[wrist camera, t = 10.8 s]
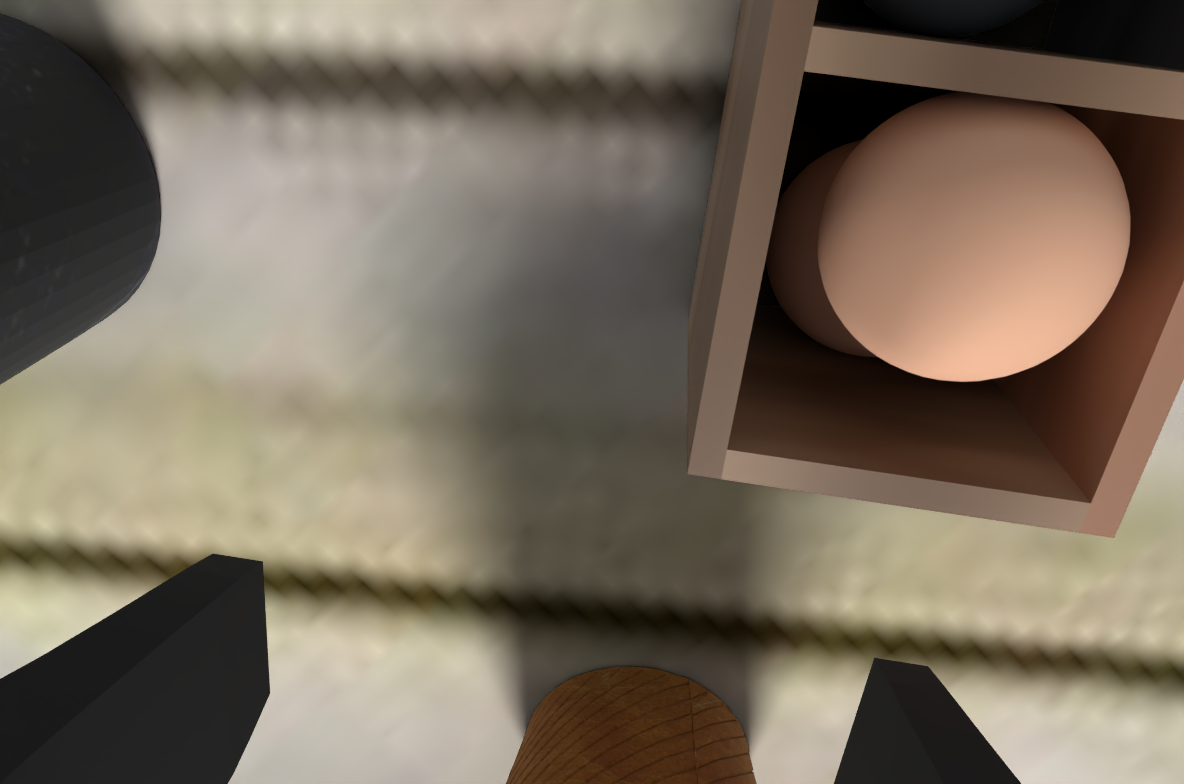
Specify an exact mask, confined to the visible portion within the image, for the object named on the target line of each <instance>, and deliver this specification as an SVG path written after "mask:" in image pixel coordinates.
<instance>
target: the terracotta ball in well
mask: <svg viewBox="0 0 1184 784" xmlns="http://www.w3.org/2000/svg"><path fill="white" fill-rule="evenodd" d="M862 141H863V140H859V141H856V142H852V143H849V144H846V145H843V146H841V147H838V148H836V149H834V150H832V151H830V152H828V153H826V154H824V155H823V156H821V157H819V158H818V159H816V160H815V161H814V162H812V163H811V164H809V165H808V166H807V167H806V168H805V169H804V170H803V171H802V172H800V173H799V174H798V176H797V177H796V178H795V179H794V180H793V181H792V183H791V184H790V185H789V187H788V188H787V189H786V191H785V192H784V194H783V195H782V197H781V198H780V200H779V202H778V204H777V207H776V211H775V216H774V221H773V226H772V231H771V236H770V241H769V246H768V251H767V256H766V262H767V269H768V275H769V279H770V282H771V286H772V289H773V291H774V293H775V296H776V298H777V300H778V302H779V304H780V306H781V307H782V308H783V310H784V311H785V313H786V314H787V315H788V317H789V318H790V319H791V321H792V322H793V323H794V324H795V325H796V326H797V327H798V328H799V329H801V330H802V331H803V332H804V333H806V334H807V335H808V336H809V337H811V338H812V339H814V340H815V341H817V342H819V343H820V344H822V345H824V346H827V347H829V348H831V349H834V350H837V351H840V352H843V353H846V354H851V355H856V356H864V357H877V356H876V355H875V354H873V353H872V352H871V351H869V350H868V349H867V348H865V347H864V346H863V345H862V344H861V343H860V342H859V341H858V340H857V339H856V338H855V337H854V336H853V335H852V334H851V333H850V332H849V330H848V329H847V328H846V327H845V326H844V324H843V323H842V321H841V320H840V318H839V317H838V316H837V314H836V313H835V311H834V309H833V307H832V305H831V303H830V301H829V299H828V297H827V294H826V291H825V289H824V286H823V282H822V278H821V273H820V269H819V264H818V252H817V244H818V227H819V222H820V218H821V214H822V209H823V205H824V201H825V199H826V196H827V194H828V192H829V189H830V187H831V185H832V183H833V180H834V178H835V176H836V174H837V173H838V171H839V170H840V168H841V167H842V165H843V164H844V162H845V161H846V159H847V158H848V156H849V155H850V154H851V152H852V151H853V150H854V149H855V148H856V147H857V146H858V145H859V144H860V143H861V142H862Z"/></svg>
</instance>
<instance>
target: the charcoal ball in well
mask: <svg viewBox="0 0 1184 784" xmlns="http://www.w3.org/2000/svg"><path fill="white" fill-rule="evenodd" d="M863 1H864V2H865V3H866V4H867V5H868V6H869V7H870V8H871V9H872V10H873V11H875V12H876V13H877V14H879V15H880V16H881V17H883V18H884V19H885V20H887V21H889V22H891V23H892V24H894V25H896V26H898V27H900V28H902V29H905V30H908V31H911V32H914V33H918V34H923V35H928V36H942V37H955V36H966V35H971V34H976V33H981V32H984V31H987V30H990V29H994V28H996V27H999V26H1001V25H1003V24H1006V23H1008V22H1010V21H1012V20H1014V19H1016V18H1017V17H1019V16H1021V15H1023V14H1024V13H1026V12H1028V11H1029V10H1031V9H1032V8H1033V7H1035V6H1036V5H1038V4H1039V3H1040V2H1042V1H1043V0H863Z"/></svg>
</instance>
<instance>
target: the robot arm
mask: <svg viewBox="0 0 1184 784" xmlns="http://www.w3.org/2000/svg"><path fill="white" fill-rule="evenodd" d="M269 694H270V684H269V666H268V648H267V630H266V612H265V594H264V576H263V562H262V561H256V560H250V559H243V558H237V557H231V556H224V555H218V554H212V555H210V556H208V557H206V558H204V559H203V560H201V561H199V562H197V563H196V564H194V565H192V566H190V567H189V568H187V569H185V570H184V571H182V572H180V573H179V574H177V575H175V576H174V577H172V578H170V579H169V580H167V581H165V582H164V583H162V584H161V585H159V586H157V587H156V588H154V589H152V590H151V591H149V592H148V593H146V594H144V595H143V596H141V597H139V598H138V599H136V600H134V601H133V602H131V603H130V604H128V605H126V606H125V607H123V608H121V609H120V610H118V611H116V612H115V613H113V614H112V615H110V616H108V617H106V618H105V619H103V620H101V621H100V622H98V623H96V624H95V625H93V626H91V627H90V628H88V629H86V630H85V631H83V632H81V633H80V634H78V635H76V636H75V637H73V638H71V639H70V640H68V641H66V642H65V643H63V644H61V645H60V646H58V647H56V648H55V649H53V650H51V651H50V652H48V653H46V654H44V655H43V656H41V657H39V658H38V659H36V660H34V661H32V662H30V663H28V664H27V665H25V666H23V667H21V668H19V669H17V670H16V671H14V672H12V673H10V674H8V675H7V676H5V677H3V678H1V679H0V784H228V782H229V780H230V779H231V777H232V775H233V773H234V771H235V769H236V767H237V765H238V763H239V761H240V759H241V756H242V754H243V752H244V750H245V748H246V746H247V744H248V742H249V740H250V737H251V735H252V733H253V731H254V728H255V726H256V724H257V722H258V719H259V717H260V715H261V712H262V710H263V708H264V706H265V703H266V701H267V699H268V697H269ZM834 784H1021V783H1020V781H1019V780H1018V779H1017V778H1016V777H1015V775H1014V774H1013V773H1012V772H1011V770H1010V769H1009V768H1008V767H1007V765H1006V764H1005V763H1004V762H1003V760H1002V759H1001V758H1000V757H999V755H998V754H997V753H996V751H995V750H994V749H993V748H992V746H991V745H990V744H989V743H988V741H987V740H986V739H985V738H984V736H983V735H982V734H981V733H980V731H979V730H978V729H977V727H976V726H975V725H974V724H973V722H972V721H971V720H970V718H969V717H968V716H967V715H966V713H965V712H964V711H963V710H962V708H961V707H960V706H959V704H958V703H957V702H956V701H955V699H954V698H953V697H952V695H951V694H950V693H949V692H948V690H947V689H946V688H945V687H944V685H943V684H942V683H941V682H940V680H939V679H938V678H937V677H936V675H935V674H934V673H933V672H932V671H931V669H930V668H929V667H928V666H922V665H916V664H910V663H903V662H897V661H891V660H884V659H878V658H874V661H873V664H872V667H871V670H870V673H869V676H868V679H867V682H866V685H865V689H864V692H863V695H862V698H861V701H860V704H859V707H858V710H857V713H856V717H855V720H854V723H853V726H852V729H851V732H850V735H849V738H848V741H847V744H846V748H845V751H844V754H843V757H842V760H841V763H840V766H839V769H838V772H837V776H836V779H835V782H834Z"/></svg>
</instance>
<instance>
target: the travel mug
mask: <svg viewBox="0 0 1184 784" xmlns="http://www.w3.org/2000/svg"><path fill="white" fill-rule="evenodd" d="M160 221H161V212H160V196H159V190H158V185H157V179H156V175H155V171H154V168H153V165H152V161H151V158H150V155H149V153H148V150H147V148H146V146H145V143H144V141H143V139H142V136H141V134H140V132H139V130H138V128H137V127H136V125H135V123H134V121H133V119H132V118H131V116H130V114H129V112H128V111H127V110H126V108H125V107H124V105H123V104H122V102H121V101H120V100H119V98H118V97H117V95H116V94H115V93H114V91H113V90H112V89H111V88H110V87H109V86H108V84H107V83H106V82H105V81H104V80H103V79H102V77H101V76H100V75H99V74H98V73H97V72H96V71H95V70H94V69H93V68H91V67H90V66H89V65H88V64H87V63H86V62H85V61H84V60H83V59H82V58H81V57H79V56H78V55H77V54H76V53H74V52H73V51H72V50H70V49H69V48H68V47H66V46H65V45H64V44H63V43H61V42H59V41H58V40H56V39H55V38H53V37H51V36H50V35H48V34H46V33H45V32H43V31H41V30H39V29H37V28H35V27H33V26H30V25H28V24H26V23H24V22H22V21H20V20H17V19H14V18H11V17H8V16H5V15H2V14H0V384H2V383H4V382H5V381H7V380H8V379H10V378H12V377H13V376H15V375H17V374H18V373H20V372H21V371H23V370H25V369H26V368H28V367H29V366H31V365H33V364H34V363H36V362H38V361H39V360H41V359H42V358H44V357H46V356H47V355H49V354H50V353H52V352H54V351H55V350H57V349H59V348H60V347H62V346H63V345H65V344H67V343H68V342H70V341H71V340H73V339H75V338H76V337H78V336H79V335H81V334H82V333H84V332H86V331H87V330H89V329H90V328H92V327H93V326H95V325H96V324H98V323H99V322H101V321H103V320H104V319H106V318H107V317H108V316H110V315H111V314H112V313H114V312H115V311H116V310H117V309H119V308H120V307H121V306H122V305H123V304H125V303H126V302H127V301H128V300H129V299H130V297H131V296H132V295H133V294H134V293H135V292H136V290H137V289H138V288H139V286H140V285H141V283H142V281H143V280H144V278H145V276H146V275H147V273H148V271H149V269H150V267H151V264H152V262H153V259H154V256H155V253H156V249H157V245H158V240H159V234H160Z"/></svg>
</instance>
